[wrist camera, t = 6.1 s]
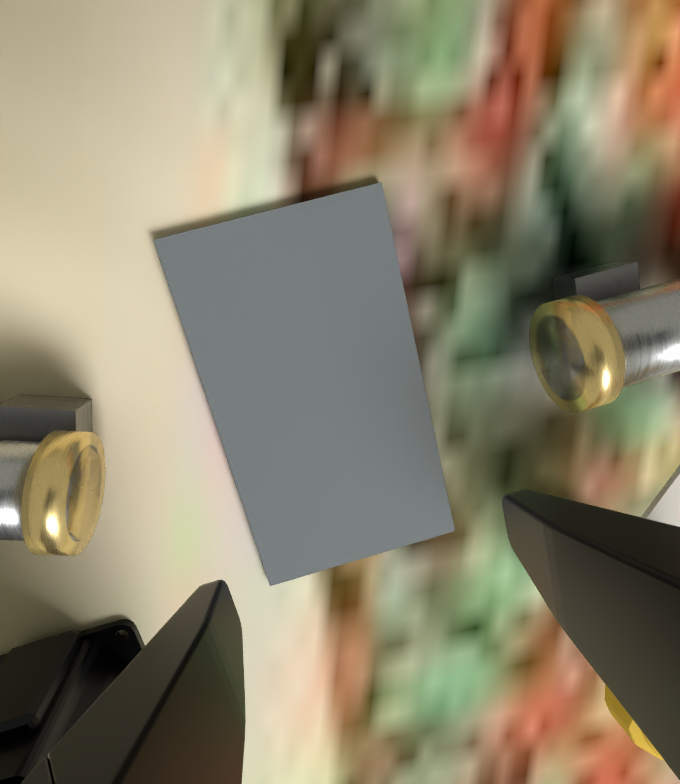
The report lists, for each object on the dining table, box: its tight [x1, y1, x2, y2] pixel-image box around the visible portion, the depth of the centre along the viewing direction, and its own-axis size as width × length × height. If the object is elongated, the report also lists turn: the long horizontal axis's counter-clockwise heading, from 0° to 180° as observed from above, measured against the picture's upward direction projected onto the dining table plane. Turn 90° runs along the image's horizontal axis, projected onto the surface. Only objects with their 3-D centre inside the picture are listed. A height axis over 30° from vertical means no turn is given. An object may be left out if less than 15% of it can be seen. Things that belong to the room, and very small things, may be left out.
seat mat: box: [154, 182, 455, 586], centre depth 19 cm, size 14×8×1 cm, turn 14°
